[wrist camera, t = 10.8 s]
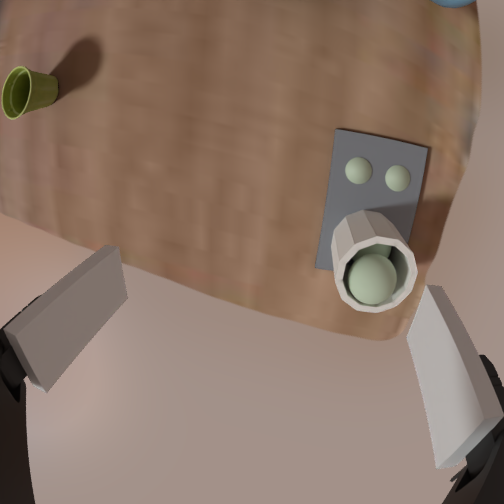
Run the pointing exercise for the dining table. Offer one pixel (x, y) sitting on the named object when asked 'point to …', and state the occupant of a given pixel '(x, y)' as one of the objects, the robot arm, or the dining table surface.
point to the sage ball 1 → (374, 250)
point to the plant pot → (27, 92)
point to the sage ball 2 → (372, 278)
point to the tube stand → (371, 209)
